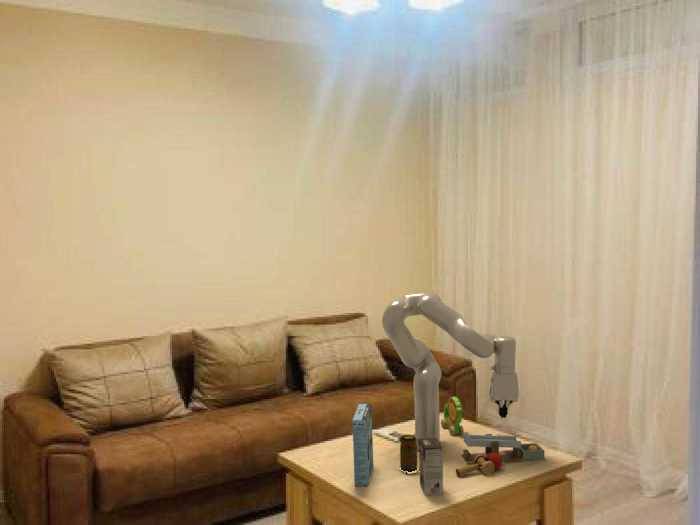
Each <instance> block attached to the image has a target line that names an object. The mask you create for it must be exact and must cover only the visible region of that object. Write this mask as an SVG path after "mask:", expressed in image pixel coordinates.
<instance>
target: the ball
mask: <svg viewBox="0 0 700 525" xmlns="http://www.w3.org/2000/svg"><path fill="white" fill-rule="evenodd" d="M530 450H538V448H537V447H536V446H535V445H531V446H530V447H529V451H530Z"/></svg>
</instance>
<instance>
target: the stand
mask: <svg viewBox="0 0 700 525" xmlns="http://www.w3.org/2000/svg"><path fill="white" fill-rule="evenodd" d="M485 435H493V434H492V433H485ZM484 448H485V450H484V451H485V452H477V453H471V452H470V451H469V450H468V449H465V448H464V449H462V453H461V458H462V459H463V460H464V462H465V463H466V466H469V465H473V464H474V462H473V461H474V458H475V457H476V456H477V455H483V456H484V457H485V458H486V456H487V455H488V454H490V453H497V454H498V455H500V457H501V458H502V464H504V463H518V462H519V463H520V462H525V461H524V460H523V458H522V457H521V449H520V448H512V450H511V451H500V447H499V442H498V441H492V447H484Z"/></svg>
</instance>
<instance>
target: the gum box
mask: <svg viewBox="0 0 700 525" xmlns="http://www.w3.org/2000/svg"><path fill="white" fill-rule="evenodd" d="M372 413H373V412H372V404H370V403H359V404H358V406H357V408H356V411H355V413H354V415H353V418H352V420H351V421H352V439H353V440H352V444H353V447H352V448H353V449H352V451H353V475H354V476H353V477H354V480H353V484H355V485H354V486H356V485H368V486H369V484H370V478H371V475H372V472H373V467H374V447H373V446H374V443H373V418H372V417H373V416H372V415H373V414H372ZM371 471H372V472H371Z"/></svg>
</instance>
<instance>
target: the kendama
mask: <svg viewBox="0 0 700 525" xmlns="http://www.w3.org/2000/svg"><path fill="white" fill-rule="evenodd" d="M473 462H474V464H470V465H466V466H462V467H457V468H456V469H455V474H456V476H457V477H458V478H461V477H463V476H465V475H467V474H469V473H472V472H474V471H476V470H478V469H480V468H481V472H482V473H483V474H484V475H491V474H492V473H493V472H494V471H496V470H500V469H501V467H502V465H503V463H502V458H501V457H500V455H498V454H497V453H490V454H488V455H487V456H486V458H485V457H484V456H483V455H477V456H476V457H475V458H474V461H473Z"/></svg>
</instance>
